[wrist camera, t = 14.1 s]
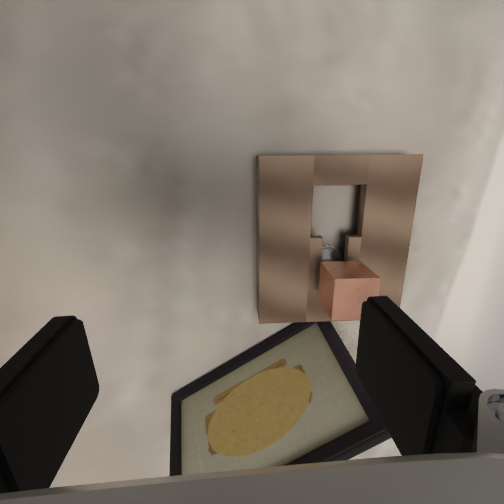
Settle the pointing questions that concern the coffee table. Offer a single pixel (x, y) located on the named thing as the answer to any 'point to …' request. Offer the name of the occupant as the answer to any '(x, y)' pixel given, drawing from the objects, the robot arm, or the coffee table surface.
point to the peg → (344, 285)
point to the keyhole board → (310, 247)
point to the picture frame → (276, 407)
